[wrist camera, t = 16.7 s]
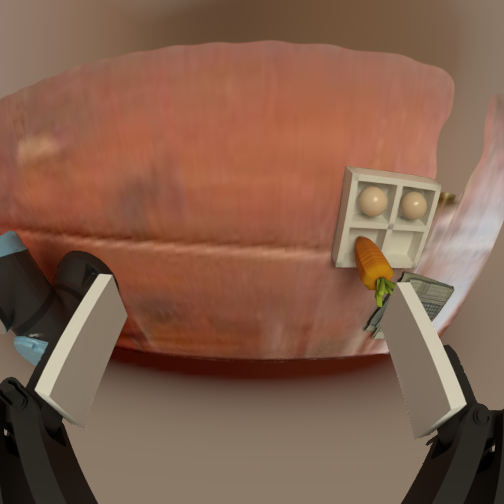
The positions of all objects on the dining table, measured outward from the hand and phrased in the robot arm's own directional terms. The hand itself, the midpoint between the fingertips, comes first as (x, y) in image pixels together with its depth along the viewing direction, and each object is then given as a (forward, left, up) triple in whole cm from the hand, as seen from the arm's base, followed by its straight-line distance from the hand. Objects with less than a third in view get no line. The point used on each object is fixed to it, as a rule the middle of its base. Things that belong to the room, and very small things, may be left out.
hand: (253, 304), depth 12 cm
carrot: (-14, -17, -30) cm, 38 cm away
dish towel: (-32, -35, -31) cm, 57 cm away
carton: (-10, -21, -31) cm, 39 cm away
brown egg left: (-6, -17, -30) cm, 35 cm away
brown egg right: (-6, -25, -30) cm, 40 cm away
